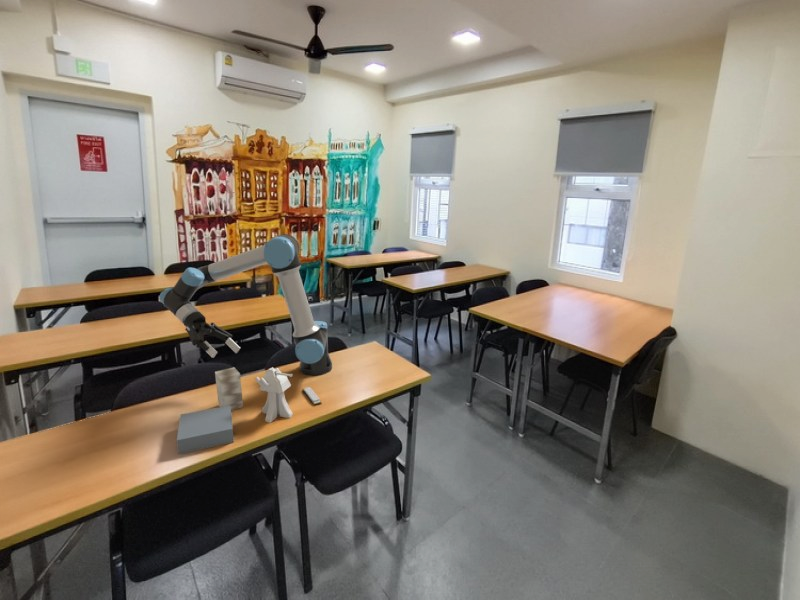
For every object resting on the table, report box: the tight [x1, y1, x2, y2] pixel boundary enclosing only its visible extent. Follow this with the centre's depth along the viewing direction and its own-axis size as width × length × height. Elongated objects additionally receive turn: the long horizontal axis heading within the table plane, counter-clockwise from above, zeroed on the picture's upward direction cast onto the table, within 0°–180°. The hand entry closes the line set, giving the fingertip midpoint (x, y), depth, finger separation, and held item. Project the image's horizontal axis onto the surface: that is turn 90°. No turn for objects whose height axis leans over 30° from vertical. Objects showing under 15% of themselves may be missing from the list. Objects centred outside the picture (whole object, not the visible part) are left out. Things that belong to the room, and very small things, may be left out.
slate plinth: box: [176, 405, 235, 455], centre depth 132 cm, size 16×16×5 cm
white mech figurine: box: [254, 366, 294, 423], centre depth 144 cm, size 12×13×18 cm
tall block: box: [214, 366, 244, 411], centre depth 149 cm, size 7×7×14 cm
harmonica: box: [302, 386, 323, 407], centre depth 159 cm, size 15×3×2 cm, turn 32°
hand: (227, 352), depth 152 cm, fingers open, 13 cm apart
